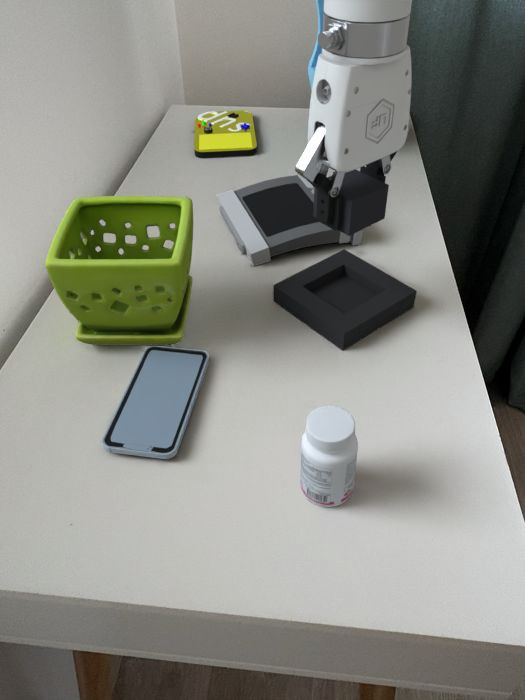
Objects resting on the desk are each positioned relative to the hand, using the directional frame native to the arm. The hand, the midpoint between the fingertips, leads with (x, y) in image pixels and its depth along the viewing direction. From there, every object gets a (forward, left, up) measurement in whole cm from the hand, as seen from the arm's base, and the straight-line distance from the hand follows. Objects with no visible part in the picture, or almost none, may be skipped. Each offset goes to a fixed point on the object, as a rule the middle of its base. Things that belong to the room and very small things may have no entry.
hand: (349, 213), depth 68 cm
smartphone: (+25, +6, -12) cm, 29 cm away
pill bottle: (+15, +23, -13) cm, 30 cm away
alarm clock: (-2, -20, -13) cm, 24 cm away
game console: (-6, -53, -13) cm, 55 cm away
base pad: (0, 0, -12) cm, 12 cm away
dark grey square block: (0, 0, 0) cm, 0 cm away
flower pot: (+23, -8, -13) cm, 27 cm away
